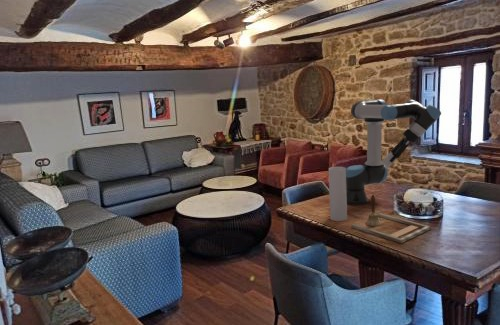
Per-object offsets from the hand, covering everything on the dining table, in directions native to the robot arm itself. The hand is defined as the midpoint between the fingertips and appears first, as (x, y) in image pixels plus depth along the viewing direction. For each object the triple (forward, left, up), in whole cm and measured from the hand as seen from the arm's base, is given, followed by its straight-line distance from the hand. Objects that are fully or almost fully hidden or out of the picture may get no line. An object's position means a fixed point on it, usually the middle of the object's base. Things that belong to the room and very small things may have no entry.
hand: (384, 164), depth 191 cm
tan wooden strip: (+4, +13, -33) cm, 35 cm away
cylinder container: (+11, -24, -33) cm, 42 cm away
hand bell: (+4, -5, -33) cm, 34 cm away
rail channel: (+4, +5, -33) cm, 33 cm away
